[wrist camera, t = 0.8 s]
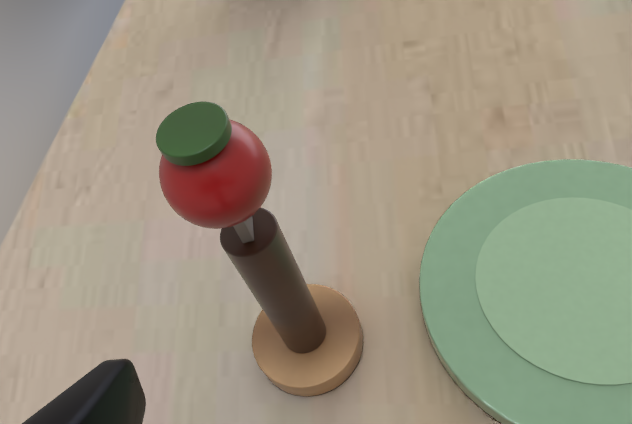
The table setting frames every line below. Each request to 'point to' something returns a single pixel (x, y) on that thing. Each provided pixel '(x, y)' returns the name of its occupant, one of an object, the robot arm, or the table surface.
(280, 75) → the table surface
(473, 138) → the table surface
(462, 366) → the plate
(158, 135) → the strawberry fork
